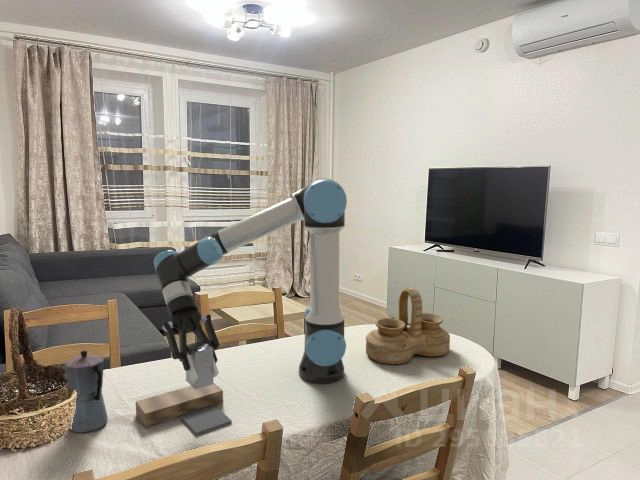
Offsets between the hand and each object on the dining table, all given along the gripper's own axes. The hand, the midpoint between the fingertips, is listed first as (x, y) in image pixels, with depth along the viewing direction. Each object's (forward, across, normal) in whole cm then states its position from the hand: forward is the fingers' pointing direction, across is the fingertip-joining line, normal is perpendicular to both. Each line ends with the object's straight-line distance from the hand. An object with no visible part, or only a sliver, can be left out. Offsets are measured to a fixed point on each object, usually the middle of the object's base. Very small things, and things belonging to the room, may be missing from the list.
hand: (205, 377), depth 120 cm
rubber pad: (+8, -1, -12) cm, 14 cm away
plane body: (+1, +2, -19) cm, 19 cm away
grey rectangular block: (-1, 0, -5) cm, 5 cm away
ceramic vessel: (+8, -82, -11) cm, 83 cm away
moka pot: (-3, +24, -23) cm, 33 cm away
